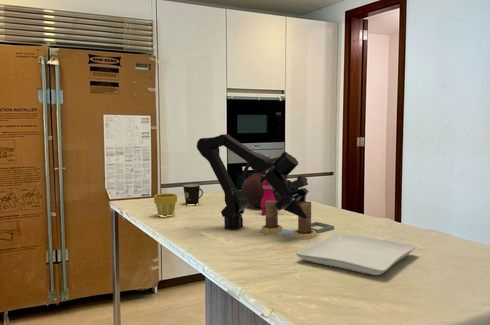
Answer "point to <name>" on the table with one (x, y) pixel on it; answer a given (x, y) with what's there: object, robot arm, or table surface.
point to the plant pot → (165, 203)
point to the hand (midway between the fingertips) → (308, 216)
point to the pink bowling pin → (267, 195)
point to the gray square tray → (327, 226)
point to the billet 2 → (305, 224)
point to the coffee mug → (192, 193)
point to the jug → (256, 186)
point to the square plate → (356, 253)
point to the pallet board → (288, 233)
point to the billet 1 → (271, 214)
